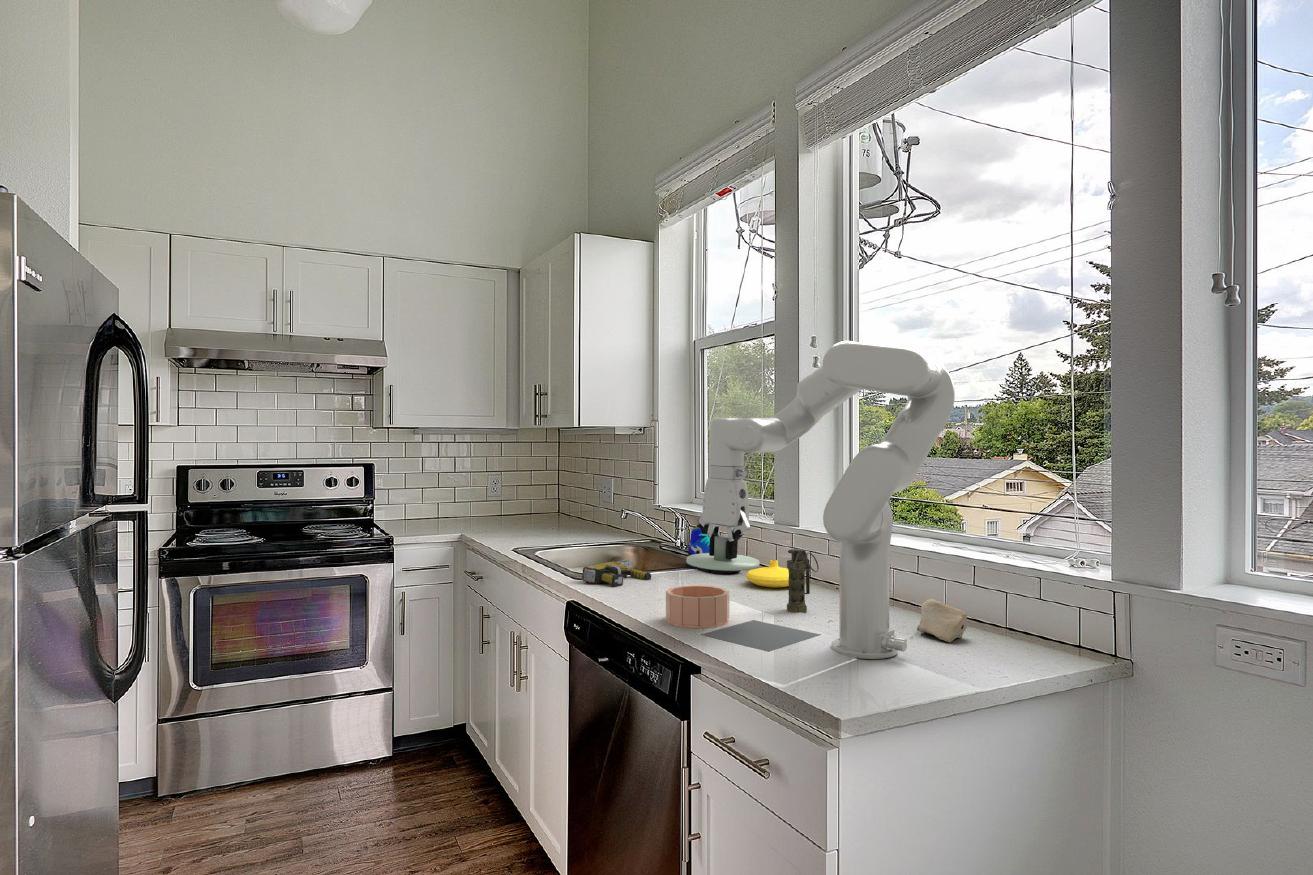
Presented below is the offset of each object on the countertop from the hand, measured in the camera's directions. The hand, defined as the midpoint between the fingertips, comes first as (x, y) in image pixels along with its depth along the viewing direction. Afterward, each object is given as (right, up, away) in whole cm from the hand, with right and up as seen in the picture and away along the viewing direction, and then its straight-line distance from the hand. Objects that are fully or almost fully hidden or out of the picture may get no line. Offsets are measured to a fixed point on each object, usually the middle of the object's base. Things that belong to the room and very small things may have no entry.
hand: (722, 556), depth 172 cm
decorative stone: (+45, -16, -7) cm, 48 cm away
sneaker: (+3, -16, +74) cm, 75 cm away
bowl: (-5, -16, +6) cm, 18 cm away
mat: (+7, -16, -7) cm, 19 cm away
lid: (0, -2, 0) cm, 2 cm away
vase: (+18, -16, +49) cm, 55 cm away
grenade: (+20, -16, +16) cm, 30 cm away
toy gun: (-24, -16, +59) cm, 66 cm away
